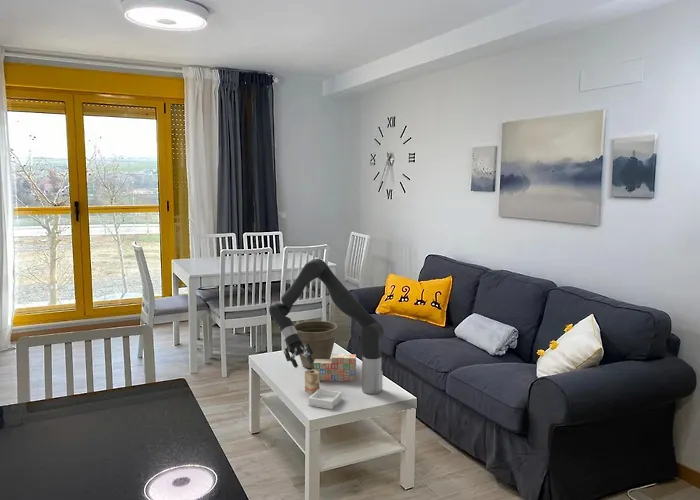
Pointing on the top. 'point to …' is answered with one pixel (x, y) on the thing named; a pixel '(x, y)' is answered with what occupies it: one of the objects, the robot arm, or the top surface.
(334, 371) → the stack of blocks
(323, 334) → the plant pot
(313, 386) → the oak block
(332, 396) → the white tray
